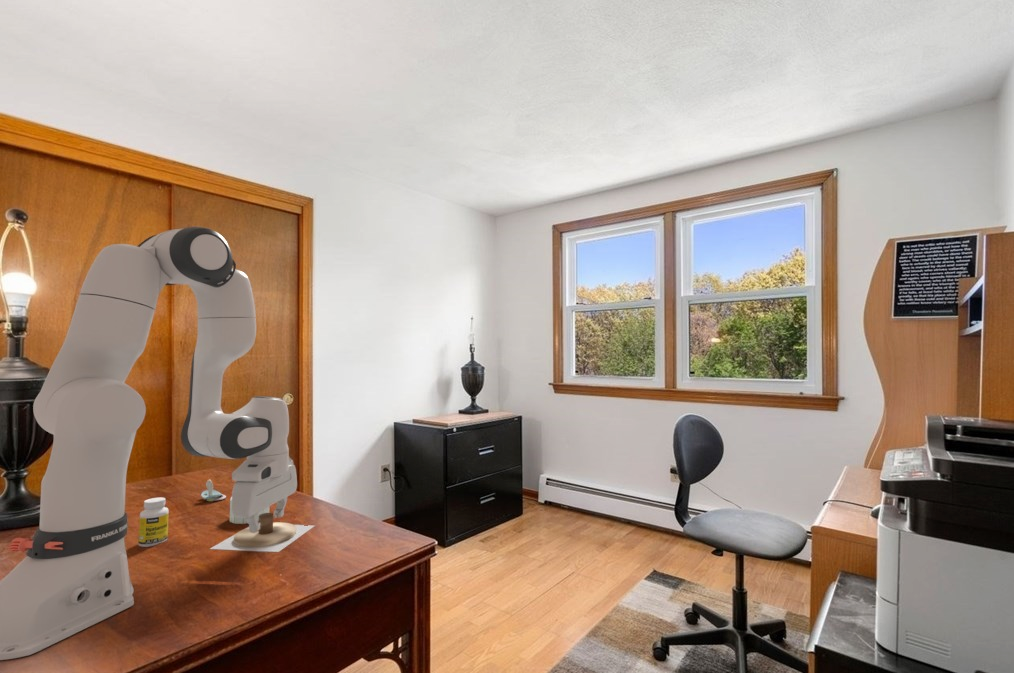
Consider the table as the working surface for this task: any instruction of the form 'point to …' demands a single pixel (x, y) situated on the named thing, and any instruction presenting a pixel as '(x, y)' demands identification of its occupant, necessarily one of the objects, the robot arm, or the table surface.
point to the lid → (265, 533)
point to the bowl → (243, 520)
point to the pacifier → (211, 493)
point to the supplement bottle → (153, 522)
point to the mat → (230, 545)
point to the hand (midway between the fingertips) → (267, 523)
